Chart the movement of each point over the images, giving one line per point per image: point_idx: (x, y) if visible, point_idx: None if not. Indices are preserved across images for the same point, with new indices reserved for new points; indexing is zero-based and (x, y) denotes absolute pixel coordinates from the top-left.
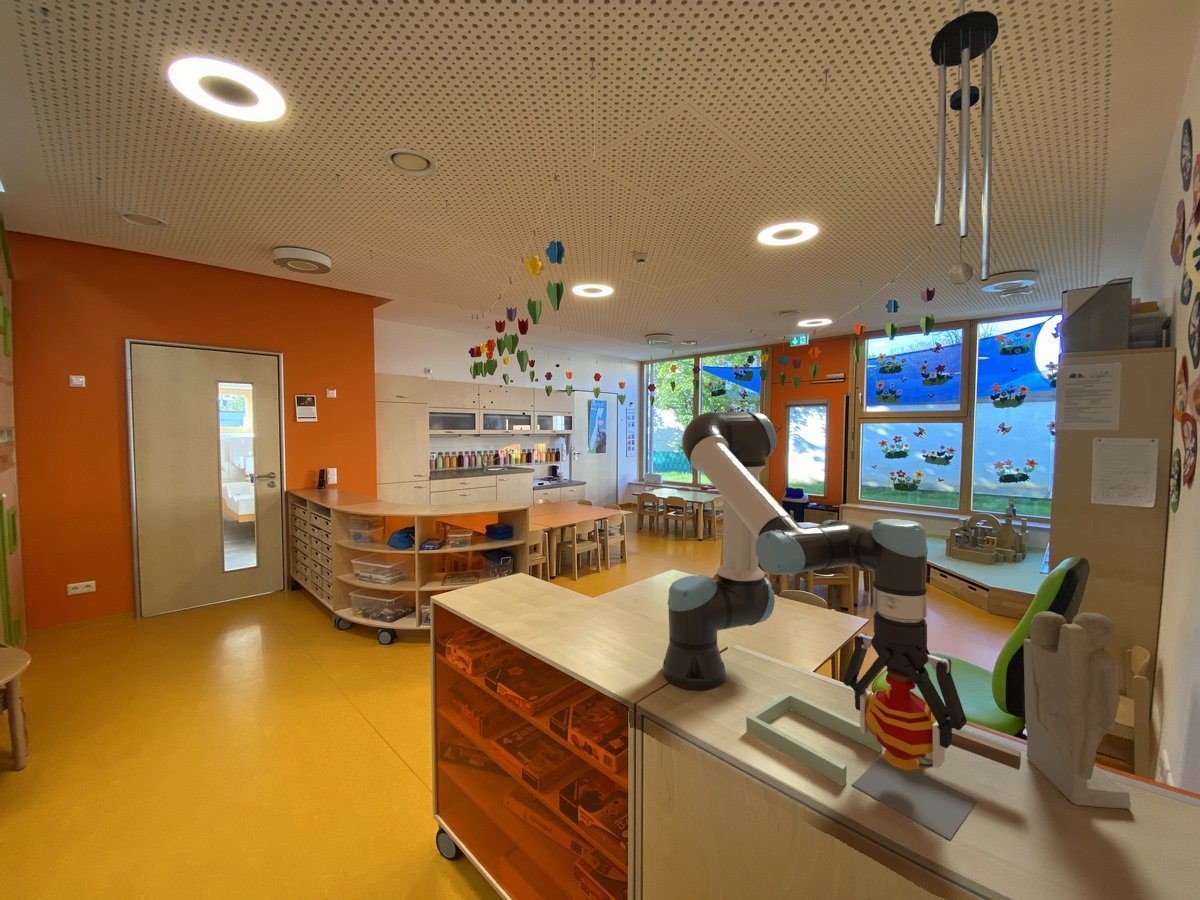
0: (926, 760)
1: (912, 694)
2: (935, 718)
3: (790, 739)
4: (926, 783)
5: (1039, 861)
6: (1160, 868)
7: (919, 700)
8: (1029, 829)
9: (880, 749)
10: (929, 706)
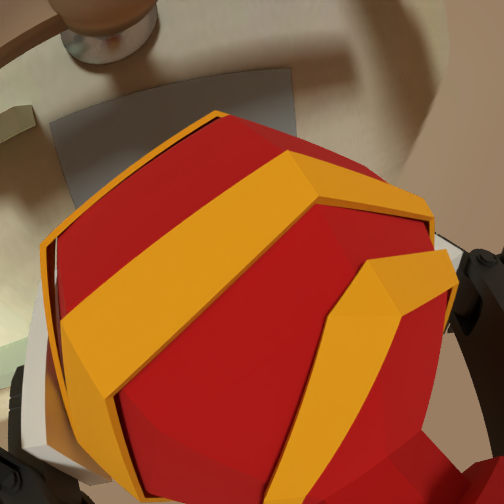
0: (143, 28)
1: (370, 272)
2: (458, 340)
3: (6, 384)
4: (193, 117)
5: (382, 145)
6: (438, 38)
7: (440, 344)
8: (362, 77)
9: (32, 118)
10: (477, 385)
